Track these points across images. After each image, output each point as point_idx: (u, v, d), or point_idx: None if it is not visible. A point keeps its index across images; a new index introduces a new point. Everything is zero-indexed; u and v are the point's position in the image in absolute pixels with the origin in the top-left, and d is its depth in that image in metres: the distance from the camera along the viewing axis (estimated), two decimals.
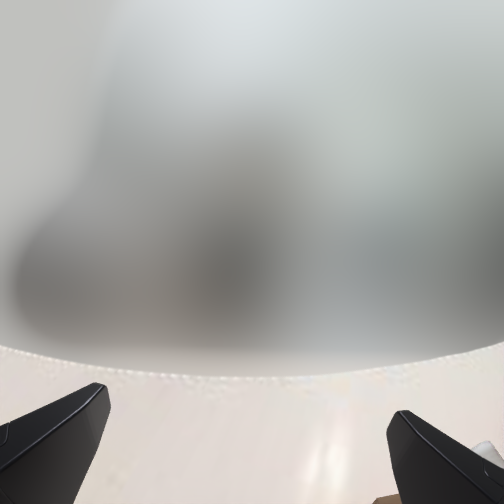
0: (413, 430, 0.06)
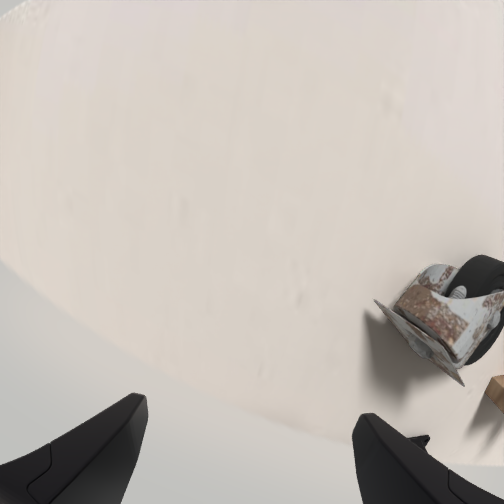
0: (375, 435, 0.06)
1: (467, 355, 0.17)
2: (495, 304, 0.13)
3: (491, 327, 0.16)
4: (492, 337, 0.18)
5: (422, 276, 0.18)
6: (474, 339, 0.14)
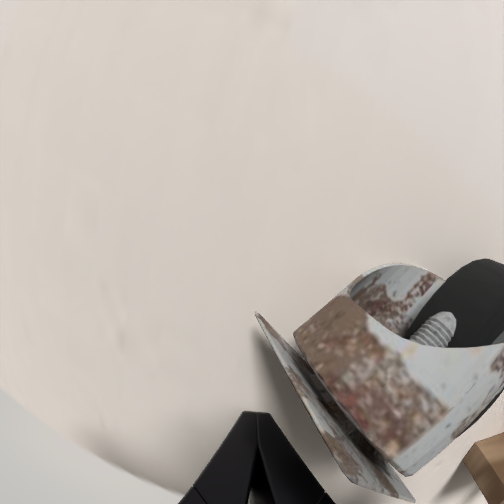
0: (256, 436, 0.06)
1: None
2: None
3: None
4: None
5: (370, 283, 0.10)
6: None
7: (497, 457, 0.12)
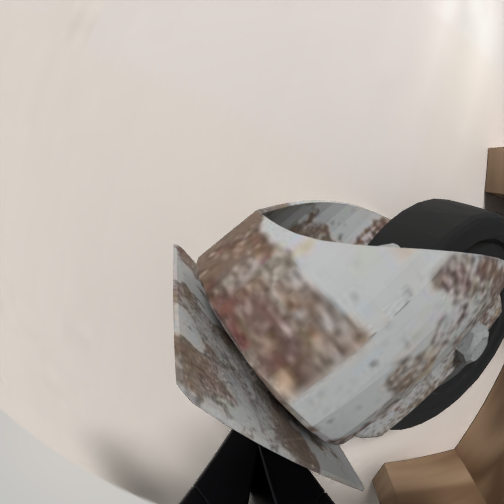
0: None
1: (397, 414, 0.08)
2: (480, 292, 0.04)
3: (464, 360, 0.07)
4: (465, 380, 0.09)
5: (305, 218, 0.10)
6: (396, 393, 0.05)
7: (410, 486, 0.11)
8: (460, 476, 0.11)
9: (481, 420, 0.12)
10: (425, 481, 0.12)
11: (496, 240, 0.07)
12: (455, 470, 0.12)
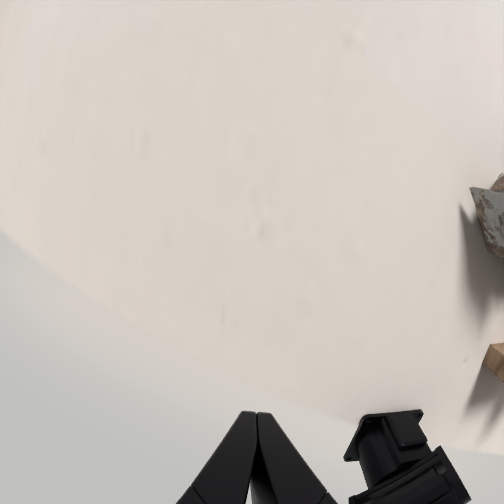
0: (258, 436, 0.06)
1: None
2: None
3: None
4: None
5: None
6: None
7: None
8: None
9: None
10: None
11: None
12: None
